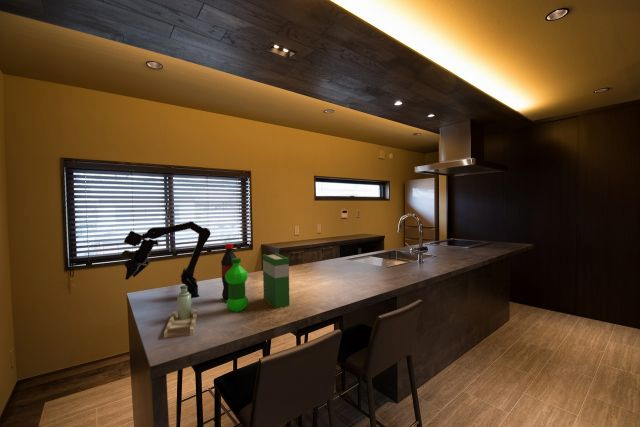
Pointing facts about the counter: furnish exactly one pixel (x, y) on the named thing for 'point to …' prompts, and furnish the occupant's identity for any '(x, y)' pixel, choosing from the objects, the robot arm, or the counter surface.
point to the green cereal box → (276, 280)
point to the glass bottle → (184, 303)
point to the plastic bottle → (236, 286)
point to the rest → (180, 325)
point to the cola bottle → (226, 268)
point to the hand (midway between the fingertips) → (130, 278)
